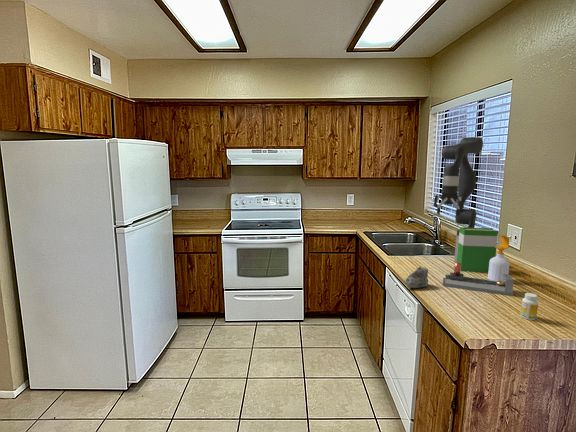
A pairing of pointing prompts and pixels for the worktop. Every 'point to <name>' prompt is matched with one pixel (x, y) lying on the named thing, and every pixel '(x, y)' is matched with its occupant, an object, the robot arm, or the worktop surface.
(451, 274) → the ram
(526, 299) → the supplement bottle
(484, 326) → the worktop surface
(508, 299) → the worktop surface
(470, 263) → the hardback book
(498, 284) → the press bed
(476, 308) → the worktop surface
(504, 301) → the worktop surface
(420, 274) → the mineral rock
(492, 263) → the soap bottle
